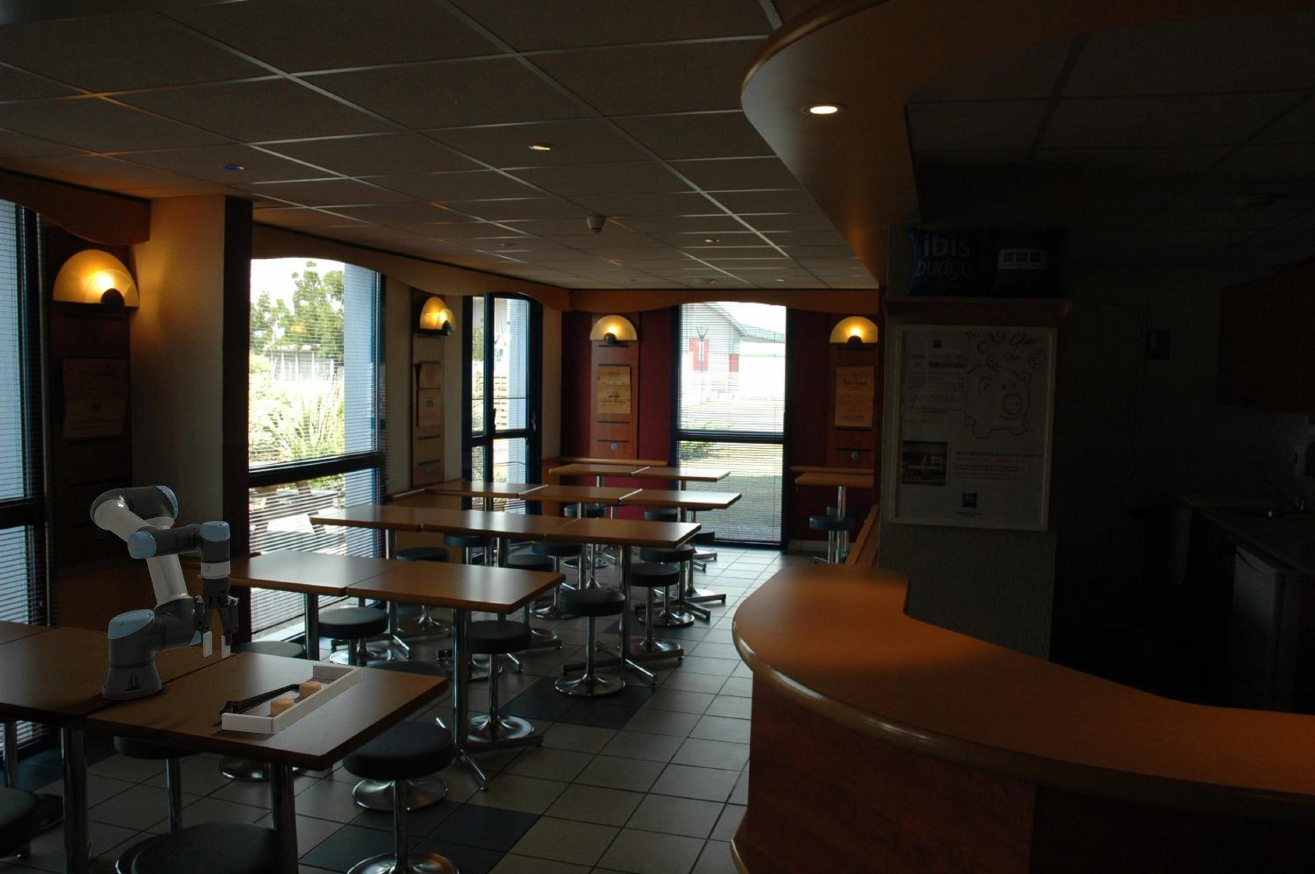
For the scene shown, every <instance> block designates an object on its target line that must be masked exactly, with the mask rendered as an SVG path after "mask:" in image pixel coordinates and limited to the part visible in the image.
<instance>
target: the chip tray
mask: <svg viewBox="0 0 1315 874" xmlns="http://www.w3.org/2000/svg"><path fill="white" fill-rule="evenodd" d="M361 671H362V669H361V667H353V666H342V665H341V666H340V665H329V664H328V665H327V664H315V663H314V664H312V678H313V679H322V680H334V681H332V682H331V683H329V684H327V685H326V686H324V687H323V688H322V687H321V690H319V691H317V692H316V693H314V694H312V695H311V696H309V697H307V698H306V699H301V700H300V701H299V702H297V703H295V704H294V706H292V707H291V708H289V709H287V710H285V711H284V712H282V713H280V714H279V715H277V716H275V717H271V716H260V715H251V714H250V715H249V714H240V713H239V714H231V713H224V714H222V715H221V730H225V731H228V730H229V731H234V732H235V731H237V732H247V733H255V734H256V733H257V734H263V735H264V734H267V735H277V734H278V733H280V732H282V731H283V730H285V729H286V728H288V727H289V726H291V725H293V724H294V723H296V722H297V721H299V720H300V719H302V718H304V717H305V716H307V715H308V714H310V713H312V712H314V711H315V710H316V709H318V708H319V707H321V706H323V705H325V704H326V703H327V701H328V702H329V701H331V700H333V699H334V698H335V697H337V696H339V695H340V694H342V693H343V692H345V691H347V690H349V689H350V688H351V687H353V686H355V685H356V684H358V683H359V682H361V681H362V675H361V674H362V672H361ZM311 711H312V712H311Z"/></svg>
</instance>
